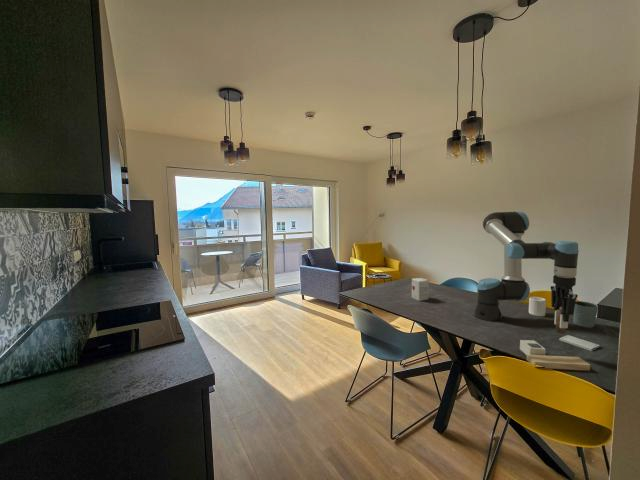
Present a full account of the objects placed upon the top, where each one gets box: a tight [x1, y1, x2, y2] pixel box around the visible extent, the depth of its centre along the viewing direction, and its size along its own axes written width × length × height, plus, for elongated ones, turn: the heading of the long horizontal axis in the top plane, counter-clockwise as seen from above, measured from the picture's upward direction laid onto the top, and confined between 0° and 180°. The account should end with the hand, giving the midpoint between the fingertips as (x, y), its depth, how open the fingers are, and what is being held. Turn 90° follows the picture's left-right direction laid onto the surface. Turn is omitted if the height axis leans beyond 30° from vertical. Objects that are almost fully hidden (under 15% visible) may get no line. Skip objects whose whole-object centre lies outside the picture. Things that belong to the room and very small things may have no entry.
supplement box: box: [411, 277, 430, 302], centre depth 206 cm, size 9×9×15 cm
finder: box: [519, 339, 546, 356], centre depth 123 cm, size 8×6×5 cm
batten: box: [526, 354, 591, 372], centre depth 115 cm, size 6×20×2 cm, turn 81°
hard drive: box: [559, 334, 601, 352], centre depth 132 cm, size 2×8×12 cm
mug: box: [528, 296, 547, 317], centre depth 170 cm, size 8×12×10 cm
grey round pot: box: [572, 300, 599, 328], centre depth 152 cm, size 10×10×12 cm
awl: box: [555, 307, 567, 335], centre depth 123 cm, size 3×3×12 cm
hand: (560, 325), depth 123 cm, fingers closed on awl, 3 cm apart
